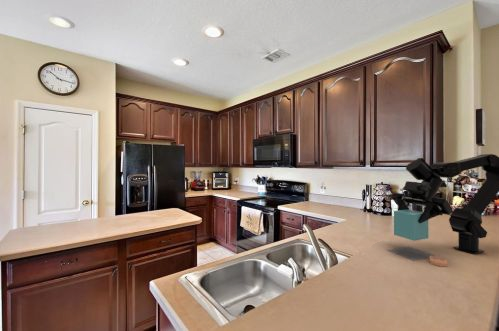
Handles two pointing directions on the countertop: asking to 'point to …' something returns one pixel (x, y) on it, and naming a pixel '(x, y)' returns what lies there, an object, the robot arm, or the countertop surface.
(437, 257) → the bowl
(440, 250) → the countertop surface
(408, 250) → the mat
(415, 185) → the robot arm
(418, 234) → the teal rectangular block
